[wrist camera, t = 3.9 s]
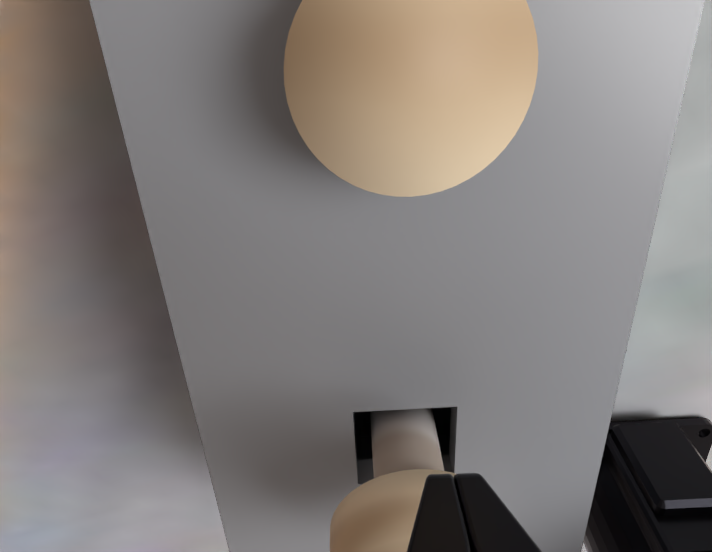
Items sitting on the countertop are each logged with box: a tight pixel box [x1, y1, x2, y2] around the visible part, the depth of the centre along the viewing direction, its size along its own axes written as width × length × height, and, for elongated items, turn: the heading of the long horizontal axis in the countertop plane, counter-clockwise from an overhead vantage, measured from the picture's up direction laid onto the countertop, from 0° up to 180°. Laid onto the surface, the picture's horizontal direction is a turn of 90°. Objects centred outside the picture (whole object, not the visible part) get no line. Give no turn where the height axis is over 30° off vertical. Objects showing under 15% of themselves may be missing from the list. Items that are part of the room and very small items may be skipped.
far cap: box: [330, 408, 456, 552], centre depth 16 cm, size 4×4×7 cm
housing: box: [89, 0, 705, 552], centre depth 17 cm, size 22×12×6 cm, turn 3°
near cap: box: [284, 0, 538, 197], centre depth 13 cm, size 4×4×7 cm
